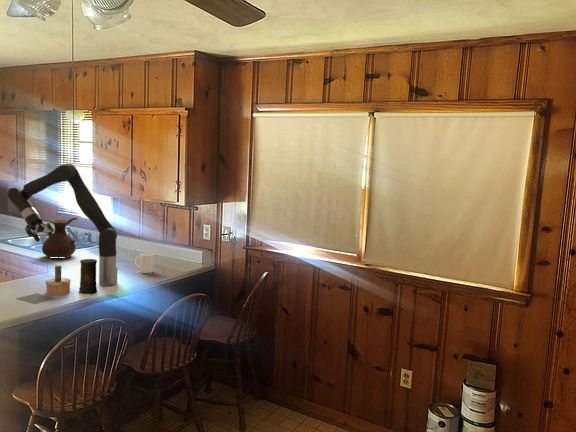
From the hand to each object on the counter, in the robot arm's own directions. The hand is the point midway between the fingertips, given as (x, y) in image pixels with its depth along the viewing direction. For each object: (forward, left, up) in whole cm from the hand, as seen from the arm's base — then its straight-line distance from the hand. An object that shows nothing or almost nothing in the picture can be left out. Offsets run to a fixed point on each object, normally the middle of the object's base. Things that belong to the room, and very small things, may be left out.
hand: (45, 239), depth 254 cm
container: (-7, +25, -27) cm, 38 cm away
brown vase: (-54, -59, -27) cm, 84 cm away
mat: (+17, +15, -27) cm, 35 cm away
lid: (+3, +14, -21) cm, 25 cm away
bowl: (+3, +14, -27) cm, 31 cm away
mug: (-60, +15, -27) cm, 67 cm away
